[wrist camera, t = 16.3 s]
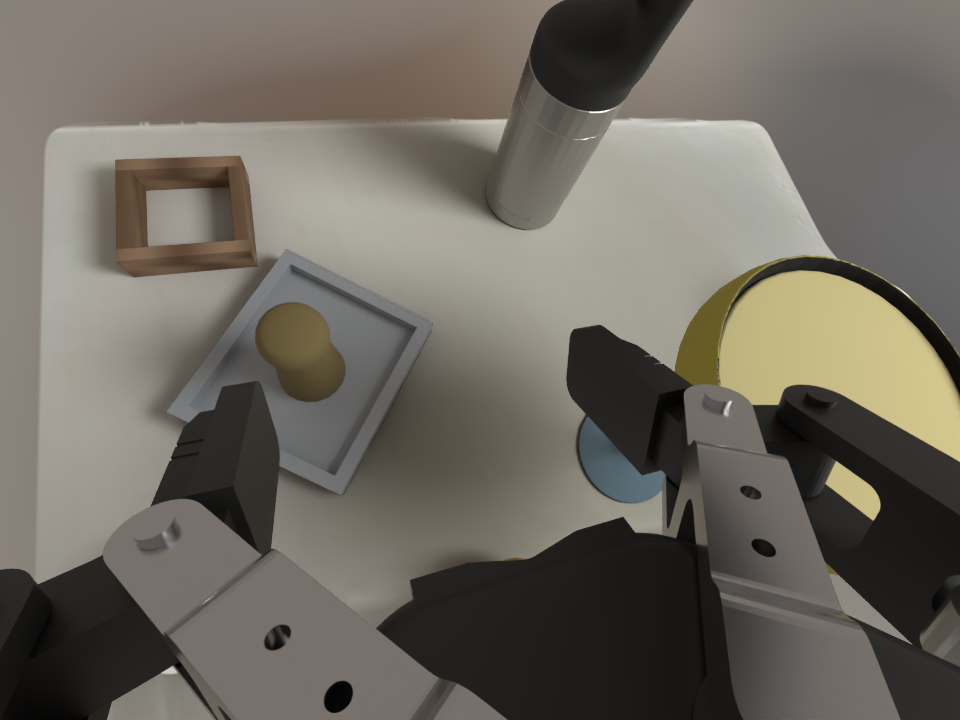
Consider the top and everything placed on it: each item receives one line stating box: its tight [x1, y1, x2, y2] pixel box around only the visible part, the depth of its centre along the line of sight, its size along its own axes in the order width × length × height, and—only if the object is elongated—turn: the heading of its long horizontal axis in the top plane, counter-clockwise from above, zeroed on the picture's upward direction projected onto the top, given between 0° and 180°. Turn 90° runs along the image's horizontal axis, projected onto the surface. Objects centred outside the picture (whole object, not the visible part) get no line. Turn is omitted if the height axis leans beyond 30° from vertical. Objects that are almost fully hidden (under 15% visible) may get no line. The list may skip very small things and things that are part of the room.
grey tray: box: [166, 249, 433, 495], centre depth 42 cm, size 18×16×2 cm
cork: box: [255, 302, 345, 402], centre depth 37 cm, size 6×6×11 cm
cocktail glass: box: [579, 255, 960, 575], centre depth 36 cm, size 18×18×25 cm
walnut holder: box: [115, 156, 258, 277], centre depth 44 cm, size 11×11×3 cm
